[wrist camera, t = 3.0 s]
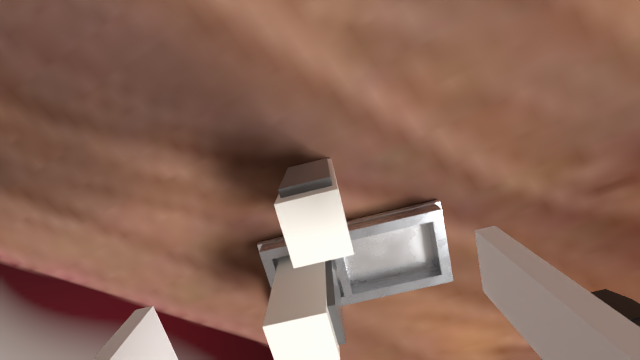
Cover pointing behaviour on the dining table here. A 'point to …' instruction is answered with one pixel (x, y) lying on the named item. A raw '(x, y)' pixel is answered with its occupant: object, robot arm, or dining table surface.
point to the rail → (384, 253)
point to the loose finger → (312, 214)
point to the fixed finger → (304, 312)
